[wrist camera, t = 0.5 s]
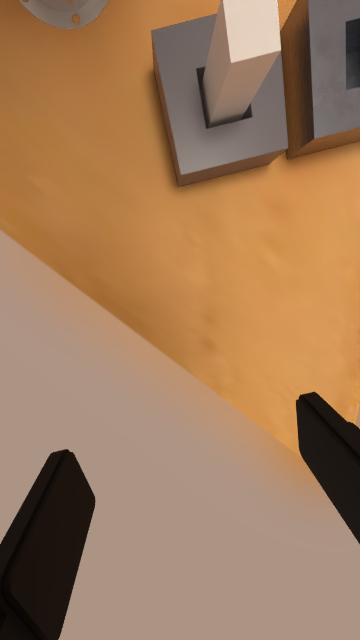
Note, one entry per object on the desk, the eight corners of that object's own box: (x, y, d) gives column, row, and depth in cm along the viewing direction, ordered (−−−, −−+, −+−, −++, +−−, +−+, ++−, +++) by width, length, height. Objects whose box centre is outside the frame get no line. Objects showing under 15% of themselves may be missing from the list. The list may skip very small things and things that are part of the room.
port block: (277, 37, 27) (310, -26, 21) (382, 10, 27) (446, -62, 21) (286, 159, 31) (317, 136, 25) (378, 136, 31) (431, 107, 25)
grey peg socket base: (153, 68, 27) (151, 30, 23) (257, 42, 27) (277, -2, 22) (178, 186, 31) (181, 175, 26) (269, 163, 31) (288, 147, 26)
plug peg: (198, 99, 28) (222, -8, 16) (229, 91, 28) (275, -21, 16) (204, 137, 29) (230, 62, 17) (234, 129, 29) (281, 50, 17)
